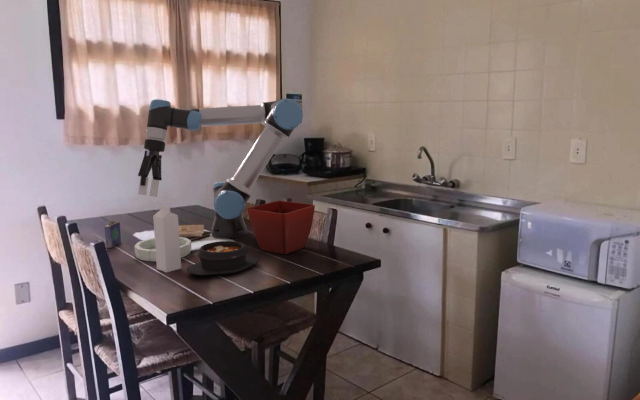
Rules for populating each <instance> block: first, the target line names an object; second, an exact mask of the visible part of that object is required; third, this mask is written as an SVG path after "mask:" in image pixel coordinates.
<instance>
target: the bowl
mask: <svg viewBox="0 0 640 400" xmlns="http://www.w3.org/2000/svg"><path fill="white" fill-rule="evenodd" d="M179 240H180V256H181V258H182V259H183V258H184V257H187V256H189V255H190V254H191V252H192V240H191V239H189V238H187V237H182V236H179ZM133 247H134V255H135V257H136V259H137V260H140V261H144V262H156V248H155V237H152V238H147V239H144V240H140V241H138V242H136V244H134V246H133Z"/></svg>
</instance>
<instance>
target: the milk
mask: <svg viewBox="0 0 640 400" xmlns="http://www.w3.org/2000/svg"><path fill="white" fill-rule="evenodd" d="M159 207H160V208H159V209H160V210H158V211H157V212H156V213H154V215H153V216H152V217H153V218H152V219H153V221H152V222H153V233H154V238H155V248H156V261H155V263H156V270H158V271H162V272H164V273H169V272H174V271H177V270H181V269H182V259H181V256H180V240H179V237H180V228H179V227H180V226H179V224H180V223H179V215H178V214H176V213H174V212H172V211H171V208H170V206H169V207H168V206H165V205H160V206H159Z"/></svg>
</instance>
